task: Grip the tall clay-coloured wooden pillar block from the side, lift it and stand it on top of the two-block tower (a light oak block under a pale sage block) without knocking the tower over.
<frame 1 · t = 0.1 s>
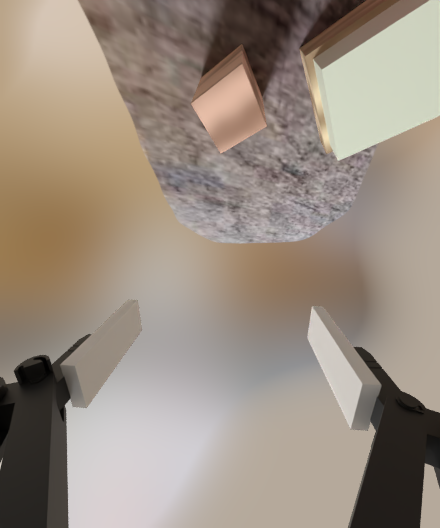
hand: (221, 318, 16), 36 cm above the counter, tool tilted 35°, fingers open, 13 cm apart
clay pillar block: (232, 87, 33), on the counter
oak base block: (361, 70, 31), on the counter, touching sage top block
sage top block: (371, 80, 28), point 5 cm above the counter, touching oak base block
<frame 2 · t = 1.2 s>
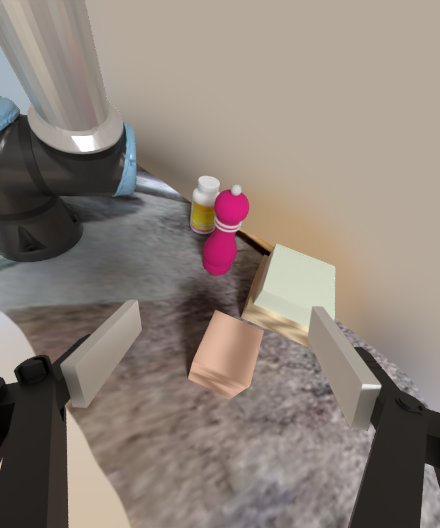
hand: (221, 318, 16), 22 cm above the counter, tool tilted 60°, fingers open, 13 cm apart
clay pillar block: (216, 366, 35), on the counter
supplement bottle: (202, 227, 56), on the counter
pepper mill: (216, 264, 48), on the counter
oak base block: (280, 303, 45), on the counter, touching sage top block
sage top block: (289, 291, 41), point 5 cm above the counter, touching oak base block
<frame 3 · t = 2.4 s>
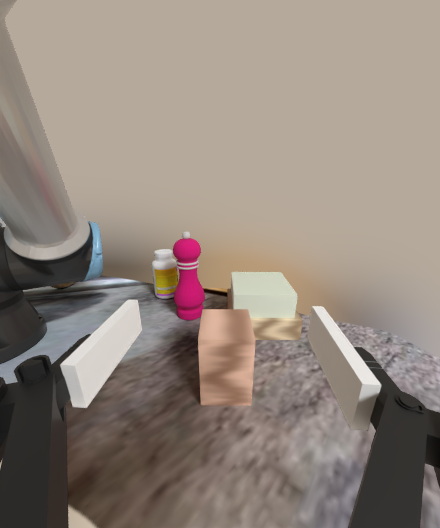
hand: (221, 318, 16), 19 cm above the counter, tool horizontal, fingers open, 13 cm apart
clay pillar block: (225, 383, 33), on the counter
supplement bottle: (167, 294, 61), on the counter
pepper mill: (190, 313, 52), on the counter
oak base block: (258, 321, 49), on the counter, touching sage top block
sage top block: (258, 302, 47), point 4 cm above the counter, touching oak base block
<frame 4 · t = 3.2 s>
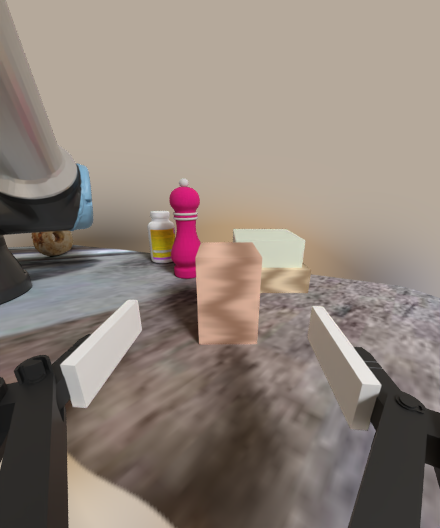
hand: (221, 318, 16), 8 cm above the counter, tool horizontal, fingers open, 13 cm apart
clay pillar block: (227, 326, 29), on the counter
supplement bottle: (164, 260, 57), on the counter
pepper mill: (188, 274, 48), on the counter
oak base block: (262, 280, 45), on the counter, touching sage top block
sage top block: (262, 257, 44), point 4 cm above the counter, touching oak base block
stone disc: (58, 255, 63), on the counter
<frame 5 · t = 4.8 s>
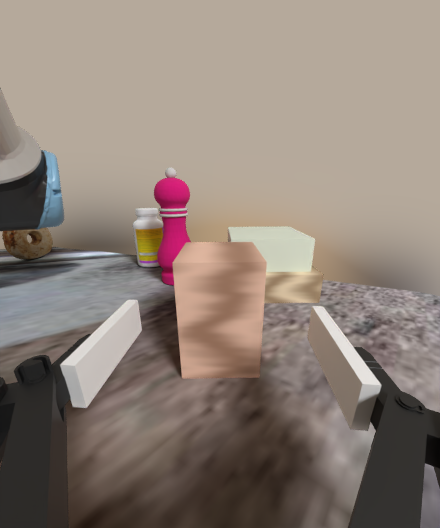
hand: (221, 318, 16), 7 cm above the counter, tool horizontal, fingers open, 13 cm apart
clay pillar block: (220, 350, 22), on the counter
supplement bottle: (152, 264, 51), on the counter
pepper mill: (178, 280, 42), on the counter
oak base block: (263, 286, 39), on the counter, touching sage top block
sage top block: (263, 260, 38), point 5 cm above the counter, touching oak base block
stone disc: (35, 258, 57), on the counter
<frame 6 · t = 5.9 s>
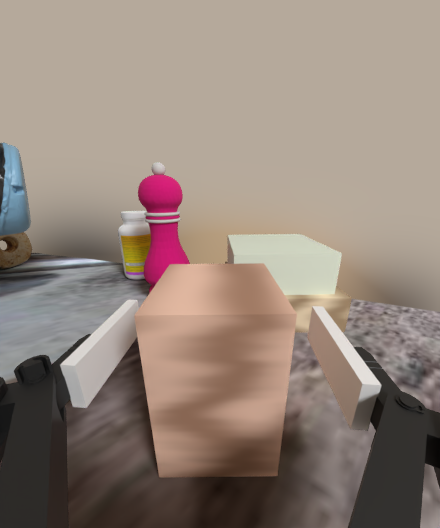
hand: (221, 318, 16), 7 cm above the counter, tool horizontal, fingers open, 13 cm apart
clay pillar block: (218, 417, 16), on the counter
supplement bottle: (142, 275, 44), on the counter
pepper mill: (170, 297, 35), on the counter
oak base block: (272, 306, 32), on the counter, touching sage top block
sage top block: (271, 276, 31), point 4 cm above the counter, touching oak base block
stone disc: (11, 267, 50), on the counter
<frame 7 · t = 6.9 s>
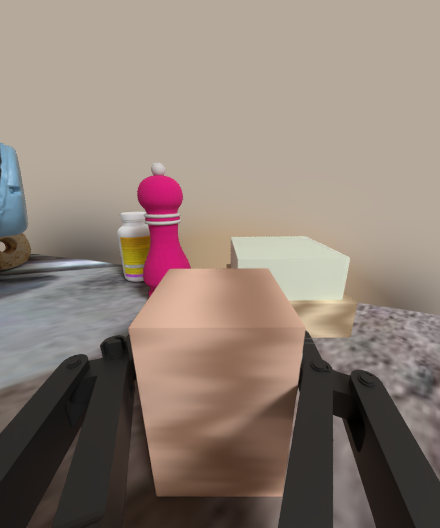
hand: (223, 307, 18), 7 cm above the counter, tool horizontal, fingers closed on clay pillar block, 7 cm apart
clay pillar block: (219, 430, 15), on the counter, touching gripper
supplement bottle: (142, 277, 44), on the counter
pepper mill: (170, 300, 34), on the counter
oak base block: (275, 310, 32), on the counter, touching sage top block
sage top block: (275, 280, 30), point 4 cm above the counter, touching oak base block
stone disc: (10, 269, 49), on the counter
when the fingers open (18 cm above the counter, at t = 13.6 s): clay pillar block drops 2 cm, resting on sage top block.
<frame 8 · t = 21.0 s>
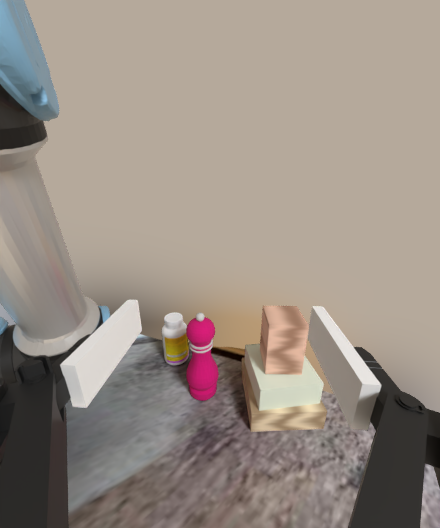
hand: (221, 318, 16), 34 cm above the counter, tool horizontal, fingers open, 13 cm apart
clay pillar block: (279, 360, 44), point 10 cm above the counter, touching sage top block
supplement bottle: (177, 357, 59), on the counter
pepper mill: (203, 389, 49), on the counter
oak base block: (276, 398, 47), on the counter, touching sage top block
sage top block: (278, 380, 46), point 5 cm above the counter, touching clay pillar block, oak base block
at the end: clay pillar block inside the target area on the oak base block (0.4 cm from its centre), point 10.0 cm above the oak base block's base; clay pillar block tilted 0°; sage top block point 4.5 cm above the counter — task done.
